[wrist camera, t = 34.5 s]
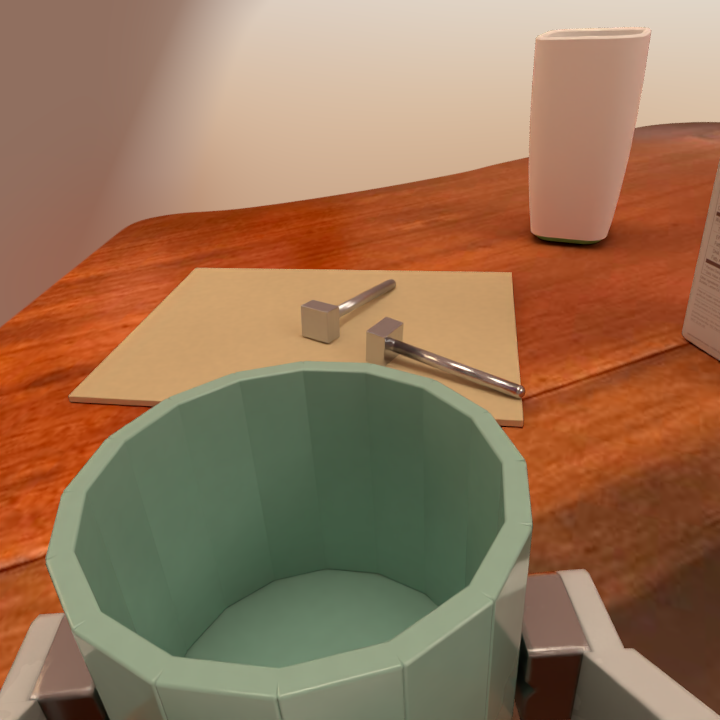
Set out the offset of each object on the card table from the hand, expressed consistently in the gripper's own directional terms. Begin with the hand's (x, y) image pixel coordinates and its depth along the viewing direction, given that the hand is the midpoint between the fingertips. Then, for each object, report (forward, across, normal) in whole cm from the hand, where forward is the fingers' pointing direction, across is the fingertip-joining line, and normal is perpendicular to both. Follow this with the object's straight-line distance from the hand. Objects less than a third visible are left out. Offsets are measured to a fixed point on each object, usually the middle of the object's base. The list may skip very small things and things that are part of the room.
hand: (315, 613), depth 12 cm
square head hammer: (+33, -4, +8) cm, 34 cm away
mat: (+28, +1, +9) cm, 29 cm away
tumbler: (-1, 0, +5) cm, 5 cm away
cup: (+42, -20, +9) cm, 47 cm away
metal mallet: (+18, -10, +8) cm, 22 cm away
